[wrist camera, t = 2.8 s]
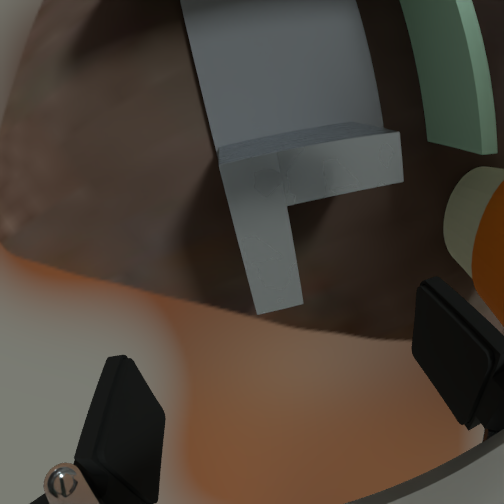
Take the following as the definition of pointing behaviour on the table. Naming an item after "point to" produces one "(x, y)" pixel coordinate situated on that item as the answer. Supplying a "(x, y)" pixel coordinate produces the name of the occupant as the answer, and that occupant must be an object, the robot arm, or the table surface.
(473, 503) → the robot arm
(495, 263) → the reusable coffee cup
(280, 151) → the bracket
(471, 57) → the corner walls
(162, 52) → the table surface
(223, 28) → the mat
